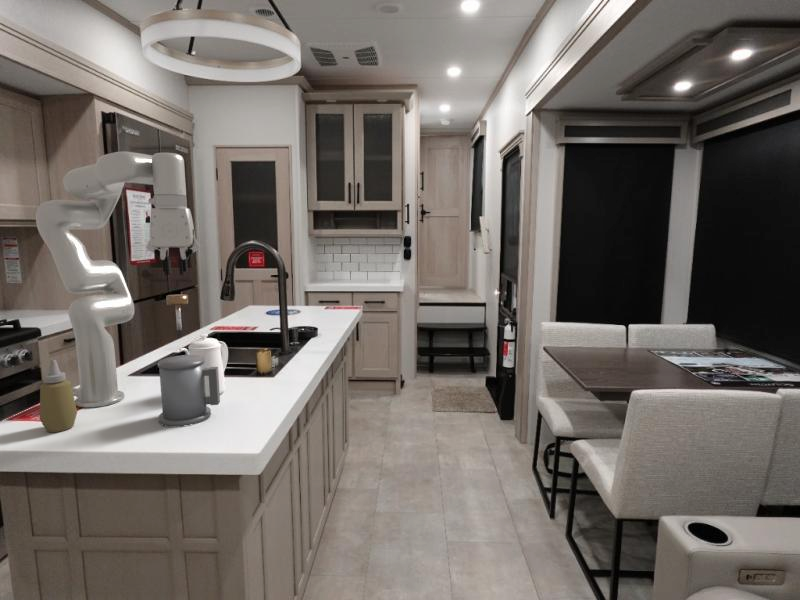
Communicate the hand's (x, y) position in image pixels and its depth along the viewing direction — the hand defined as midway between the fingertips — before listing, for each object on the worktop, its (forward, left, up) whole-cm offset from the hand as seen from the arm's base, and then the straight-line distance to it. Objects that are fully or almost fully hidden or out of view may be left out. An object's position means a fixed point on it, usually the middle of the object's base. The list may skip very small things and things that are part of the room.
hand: (175, 273), depth 130 cm
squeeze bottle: (-30, -3, -39) cm, 50 cm away
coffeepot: (+1, +20, -39) cm, 44 cm away
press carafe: (+1, 0, -39) cm, 39 cm away
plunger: (0, 0, -15) cm, 15 cm away
